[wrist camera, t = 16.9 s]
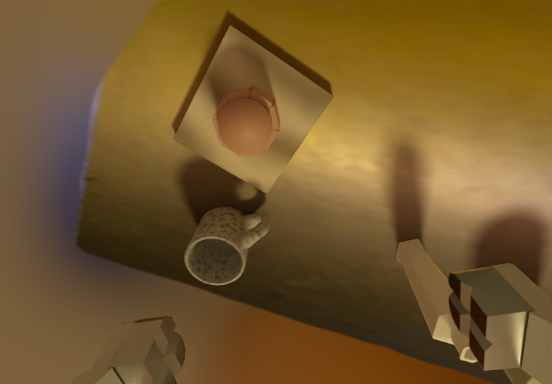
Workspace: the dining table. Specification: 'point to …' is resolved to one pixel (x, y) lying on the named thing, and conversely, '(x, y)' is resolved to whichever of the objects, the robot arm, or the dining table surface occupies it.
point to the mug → (223, 244)
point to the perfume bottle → (432, 295)
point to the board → (269, 78)
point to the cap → (247, 121)
